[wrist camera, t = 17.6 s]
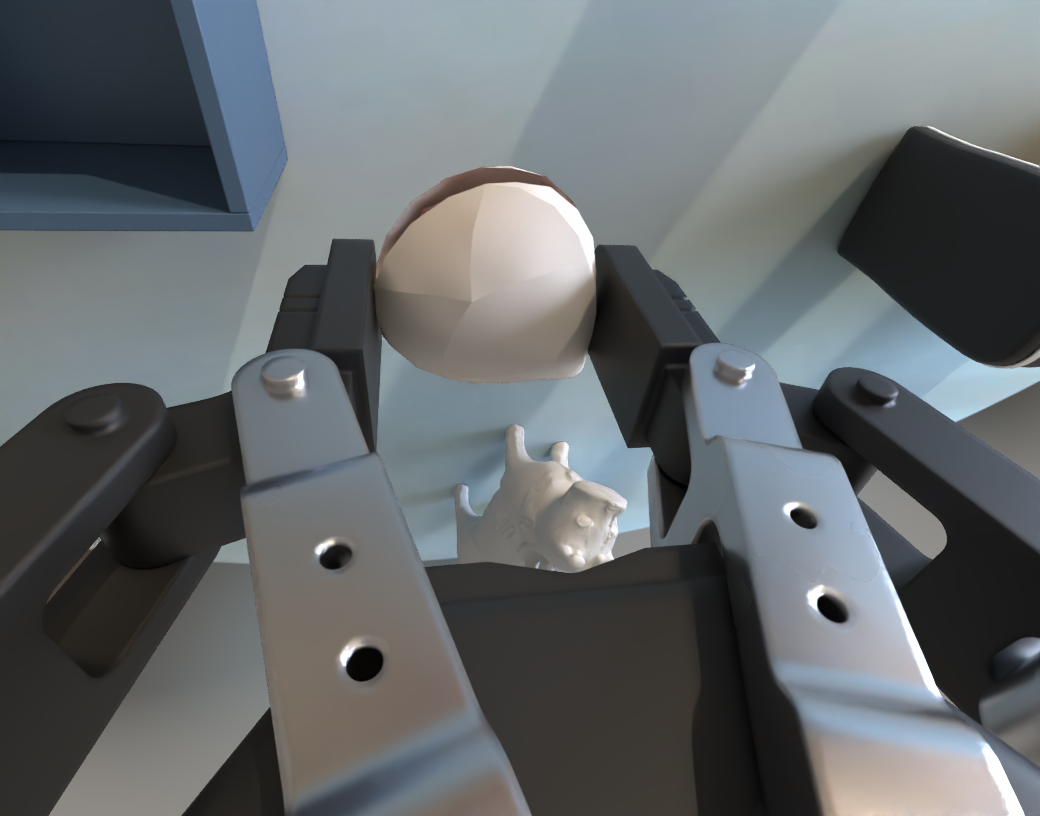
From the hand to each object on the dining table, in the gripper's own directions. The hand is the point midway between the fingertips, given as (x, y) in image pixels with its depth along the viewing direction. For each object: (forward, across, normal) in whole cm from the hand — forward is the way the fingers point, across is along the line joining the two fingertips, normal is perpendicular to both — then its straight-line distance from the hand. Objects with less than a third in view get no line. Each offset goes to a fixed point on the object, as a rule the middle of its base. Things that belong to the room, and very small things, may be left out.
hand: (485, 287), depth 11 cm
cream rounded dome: (+1, 0, 0) cm, 1 cm away
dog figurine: (+15, -5, +22) cm, 27 cm away
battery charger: (+15, -23, +3) cm, 28 cm away
